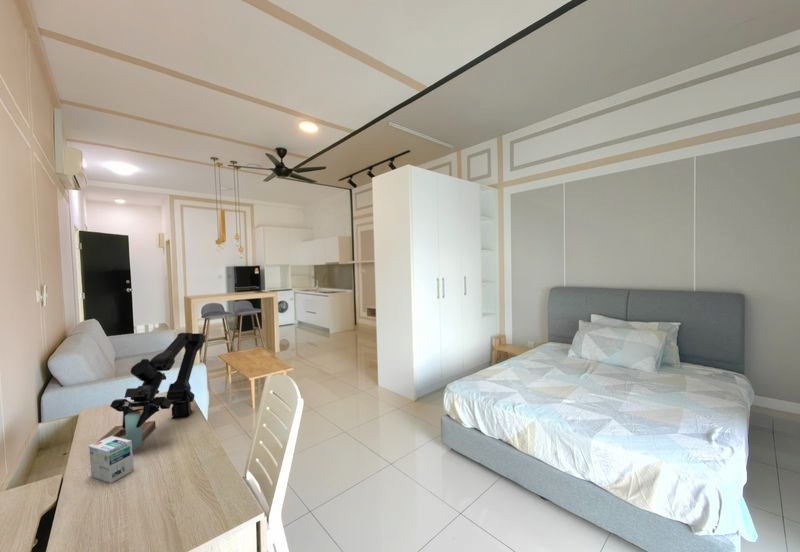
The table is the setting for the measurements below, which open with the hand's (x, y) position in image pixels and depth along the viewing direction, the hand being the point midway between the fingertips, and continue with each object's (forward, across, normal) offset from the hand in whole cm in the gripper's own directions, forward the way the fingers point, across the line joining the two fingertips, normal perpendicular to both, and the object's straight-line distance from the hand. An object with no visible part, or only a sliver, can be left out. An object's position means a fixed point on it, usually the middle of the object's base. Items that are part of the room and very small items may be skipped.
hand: (130, 427), depth 113 cm
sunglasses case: (-16, -23, +32) cm, 43 cm away
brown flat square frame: (-1, -10, +15) cm, 18 cm away
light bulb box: (+15, +2, 0) cm, 15 cm away
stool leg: (+4, 0, +6) cm, 8 cm away
